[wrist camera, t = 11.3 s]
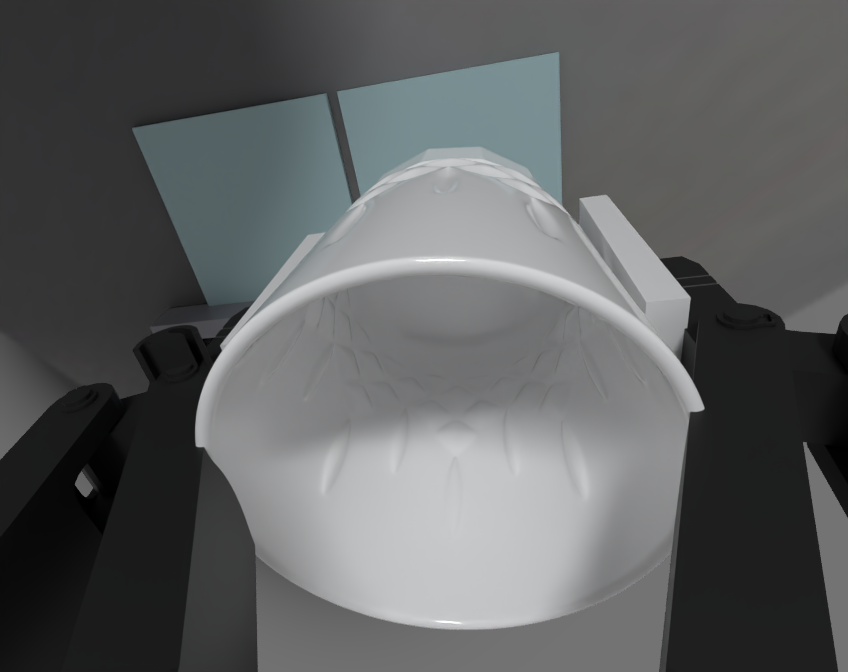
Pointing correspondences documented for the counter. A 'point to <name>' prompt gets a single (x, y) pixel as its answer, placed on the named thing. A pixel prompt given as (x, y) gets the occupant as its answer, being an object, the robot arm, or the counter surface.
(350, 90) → the tile
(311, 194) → the tile
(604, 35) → the counter surface
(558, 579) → the white cup
